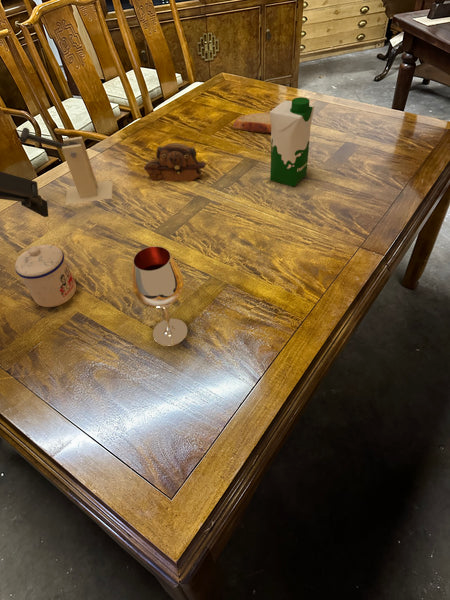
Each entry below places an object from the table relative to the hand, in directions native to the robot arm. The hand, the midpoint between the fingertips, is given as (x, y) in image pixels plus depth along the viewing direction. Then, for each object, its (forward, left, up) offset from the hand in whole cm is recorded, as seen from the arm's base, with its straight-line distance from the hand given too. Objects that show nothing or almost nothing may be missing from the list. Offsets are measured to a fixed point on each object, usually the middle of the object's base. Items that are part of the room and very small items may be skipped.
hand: (10, 216), depth 74 cm
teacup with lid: (+2, 0, -18) cm, 18 cm away
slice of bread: (+25, +80, -18) cm, 86 cm away
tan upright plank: (-10, +32, -18) cm, 38 cm away
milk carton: (+38, +53, -18) cm, 68 cm away
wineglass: (+30, -4, -18) cm, 35 cm away
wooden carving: (+10, +44, -18) cm, 49 cm away
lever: (-14, +30, -4) cm, 33 cm away
